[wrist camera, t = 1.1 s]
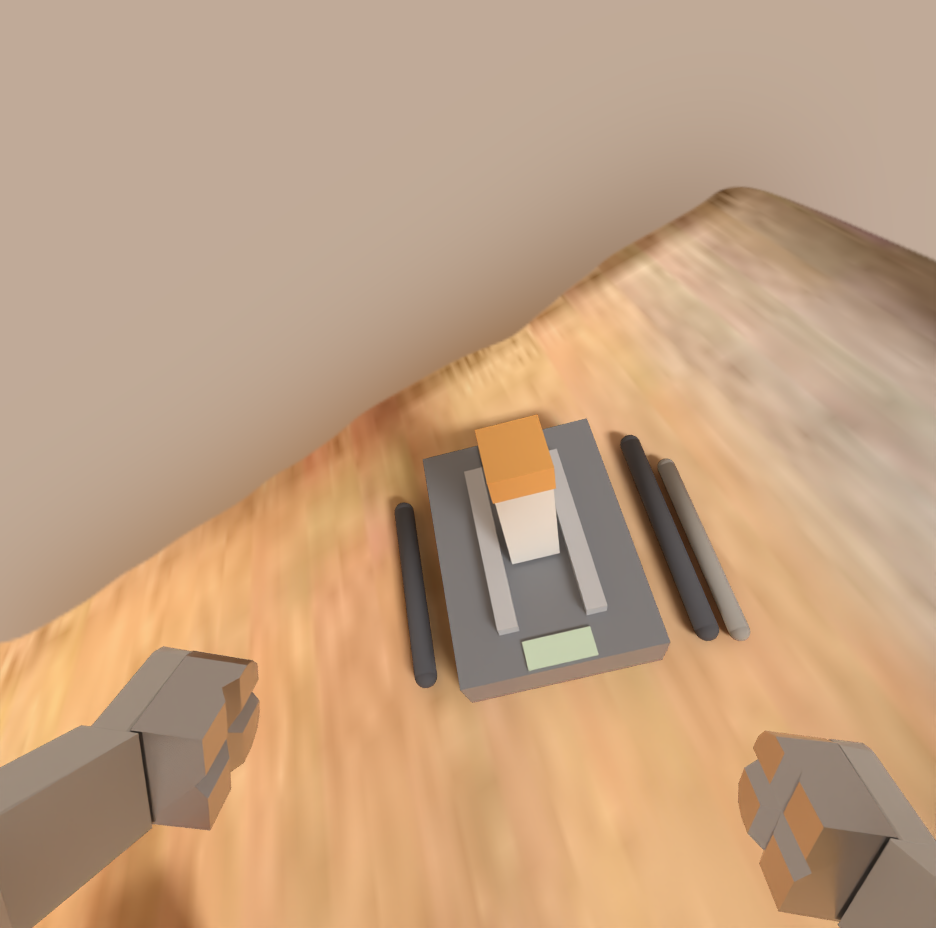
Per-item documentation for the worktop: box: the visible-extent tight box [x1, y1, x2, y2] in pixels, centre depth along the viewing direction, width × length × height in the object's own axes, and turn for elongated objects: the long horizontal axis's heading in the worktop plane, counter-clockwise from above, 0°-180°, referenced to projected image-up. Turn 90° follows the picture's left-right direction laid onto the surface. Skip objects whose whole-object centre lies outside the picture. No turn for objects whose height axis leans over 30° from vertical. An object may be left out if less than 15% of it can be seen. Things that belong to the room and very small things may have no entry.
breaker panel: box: [423, 419, 670, 703], centre depth 38 cm, size 16×12×5 cm
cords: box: [395, 435, 750, 688], centre depth 39 cm, size 16×21×1 cm
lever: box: [475, 414, 560, 564], centre depth 32 cm, size 3×3×10 cm
